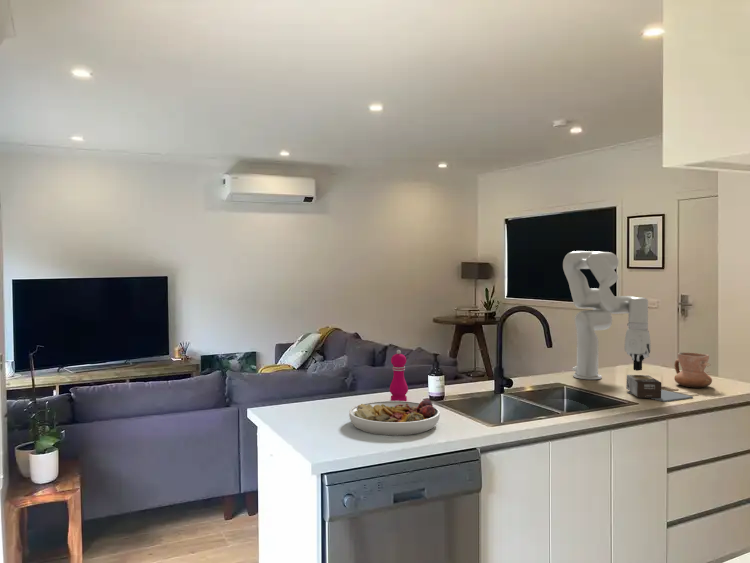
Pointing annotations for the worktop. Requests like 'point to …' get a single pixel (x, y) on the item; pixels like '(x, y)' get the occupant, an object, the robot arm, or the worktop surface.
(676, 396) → the mat
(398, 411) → the bowl
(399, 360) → the pepper mill
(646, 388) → the coffee box
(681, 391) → the turner
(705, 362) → the ceramic jug
